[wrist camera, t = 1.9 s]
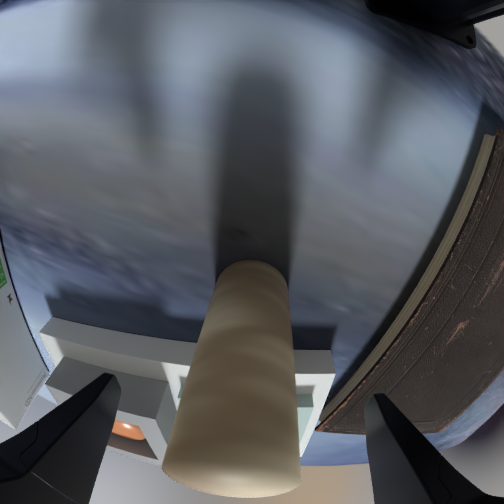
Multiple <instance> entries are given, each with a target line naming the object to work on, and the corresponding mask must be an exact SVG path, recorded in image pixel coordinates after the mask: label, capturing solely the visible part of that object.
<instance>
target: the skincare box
mask: <svg viewBox="0 0 504 504" xmlns="http://www.w3.org/2000/svg"><path fill="white" fill-rule="evenodd" d="M49 375H50V374H49V372H48V370H47V369H46V367H45V365H44V363H43V361H42V359H41V357H40V355H39V352H38V350H37V348H36V346H35V344H34V342H33V339H32V337H31V335H30V332H29V330H28V328H27V325H26V323H25V320H24V318H23V315H22V312H21V309H20V307H19V304H18V301H17V298H16V295H15V292H14V289H13V286H12V283H11V279H10V276H9V273H8V269H7V265H6V261H5V257H4V254H3V250H2V245H1V240H0V420H1V421H3V422H4V423H6V424H7V425H9V426H10V427H12V428H14V429H15V430H17V428H18V426H19V424H20V422H21V421H22V419H23V417H24V415H25V414H26V412H27V410H28V409H29V407H30V405H31V403H32V402H33V400H34V399H35V397H36V395H37V394H38V392H39V391H40V389H41V388H42V386H43V384H44V383H45V381H46V380H47V378H48V377H49Z"/></svg>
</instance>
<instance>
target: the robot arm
mask: <svg viewBox="0 0 504 504" xmlns="http://www.w3.org/2000/svg"><path fill="white" fill-rule="evenodd" d="M374 2H376V3H378V4H379V5H380V7H381V8H380V7H377V6H376V5H375V4H374ZM366 5H367V7H368V9H369V10H370V11H371V12H373V13H375V14H378V15H382V16H385V17H389V18H392V19H395V20H399V21H402V22H405V23H408V24H410V25H413V26H416V27H419V28H421V29H424V30H427V31H429V32H432V33H434V34H436V35H439V36H441V37H443V38H446V39H448V40H450V41H452V42H454V43H456V44H458V45H460V46H462V47H464V48H466V49H472V48H475V47H476V38H475V31H474V25H473V24H476V23H479V22H482V21H485V20H488V19H491V18H494V17H498V16H501V15H504V0H366ZM466 38H467V39H468V41H469V42H468V41H467V39H466ZM120 397H121V387H120V384H119V382H118V380H117V378H116V376H115V375H114V374H111V373H107V372H105V373H103V374H101V375H100V376H99V377H97V378H96V379H94V380H93V381H92V382H90V383H89V384H88V385H86V386H85V387H83V388H82V389H81V390H79V391H78V392H77V393H75V394H74V395H73V396H71V397H70V398H68V399H67V400H66V401H64V402H63V403H62V404H60V405H59V406H57V407H56V408H55V409H53V410H52V411H50V412H49V413H48V414H46V415H45V416H44V417H42V418H41V419H40V420H39V421H37V422H35V423H34V424H32V425H31V426H29V427H28V428H27V429H25V430H24V431H22V432H20V433H19V434H17V435H15V436H14V437H12V438H10V439H8V440H6V441H4V442H2V443H0V504H89V501H90V498H91V494H92V491H93V487H94V484H95V481H96V477H97V474H98V471H99V468H100V465H101V462H102V459H103V455H104V452H105V450H106V447H107V444H108V441H109V438H110V435H111V432H112V429H113V426H114V422H115V418H116V413H117V409H118V405H119V401H120ZM365 426H366V444H367V453H368V459H369V465H370V472H371V479H372V486H373V493H374V502H375V504H504V497H496V496H491V495H488V494H486V493H484V492H482V491H481V490H480V489H479V488H477V487H476V486H475V485H474V484H472V483H471V482H470V481H469V480H467V479H466V478H465V477H464V476H463V475H462V474H460V473H459V472H458V471H457V470H456V469H455V468H454V467H453V466H452V465H451V464H450V463H449V462H448V461H447V460H446V459H445V458H444V457H443V456H441V454H440V453H439V452H438V450H437V449H436V448H435V447H434V446H433V445H432V444H431V443H430V442H429V441H428V440H427V439H426V438H425V436H424V435H423V434H422V433H421V432H420V431H419V430H418V429H417V428H416V427H415V426H414V425H413V424H412V422H411V421H410V420H409V419H408V418H407V417H406V416H405V415H404V414H403V413H402V412H401V411H400V410H399V409H398V407H397V406H396V405H395V404H394V403H393V402H392V401H391V400H390V399H389V398H388V397H387V396H386V395H385V394H384V393H376V394H373V395H372V396H371V398H370V399H369V401H368V403H367V405H366V407H365Z"/></svg>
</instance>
